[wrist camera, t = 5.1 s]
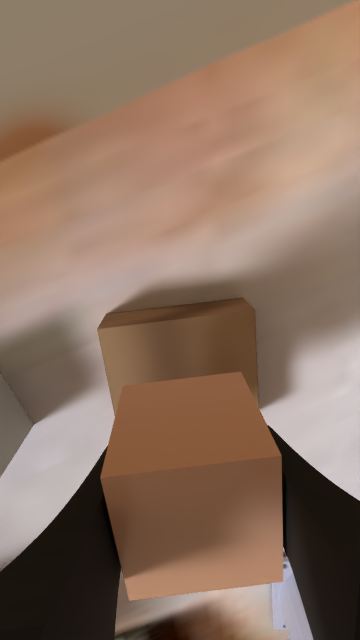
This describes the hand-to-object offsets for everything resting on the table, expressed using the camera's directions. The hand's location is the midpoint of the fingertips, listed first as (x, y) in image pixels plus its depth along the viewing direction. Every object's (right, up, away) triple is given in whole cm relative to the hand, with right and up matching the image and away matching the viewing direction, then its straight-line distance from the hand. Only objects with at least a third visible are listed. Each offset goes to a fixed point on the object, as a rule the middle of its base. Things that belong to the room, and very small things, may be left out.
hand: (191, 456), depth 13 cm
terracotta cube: (0, +1, +2) cm, 2 cm away
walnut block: (0, +3, +8) cm, 8 cm away
